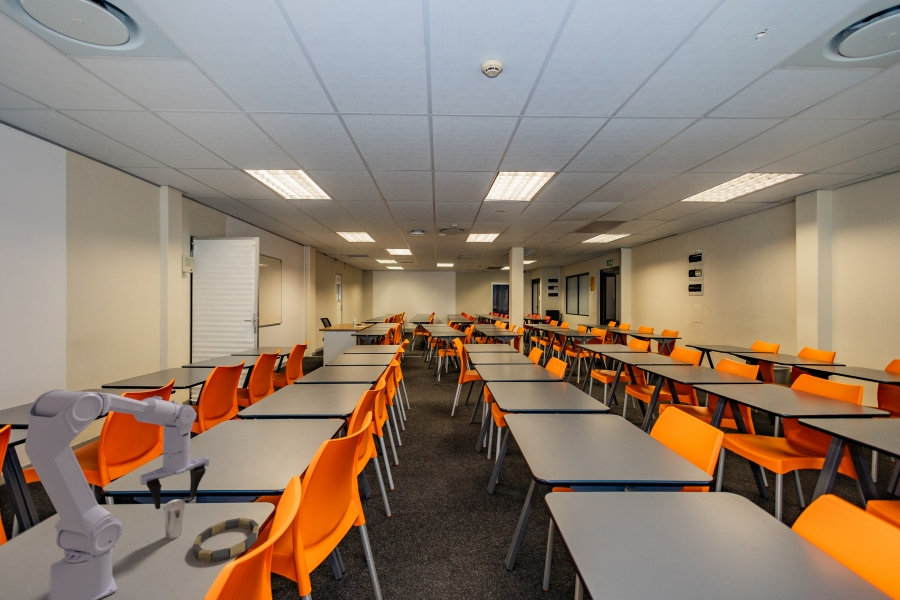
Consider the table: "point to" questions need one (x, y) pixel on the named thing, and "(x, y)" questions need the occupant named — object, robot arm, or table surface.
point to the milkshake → (173, 518)
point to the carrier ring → (228, 552)
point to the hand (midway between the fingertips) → (175, 501)
